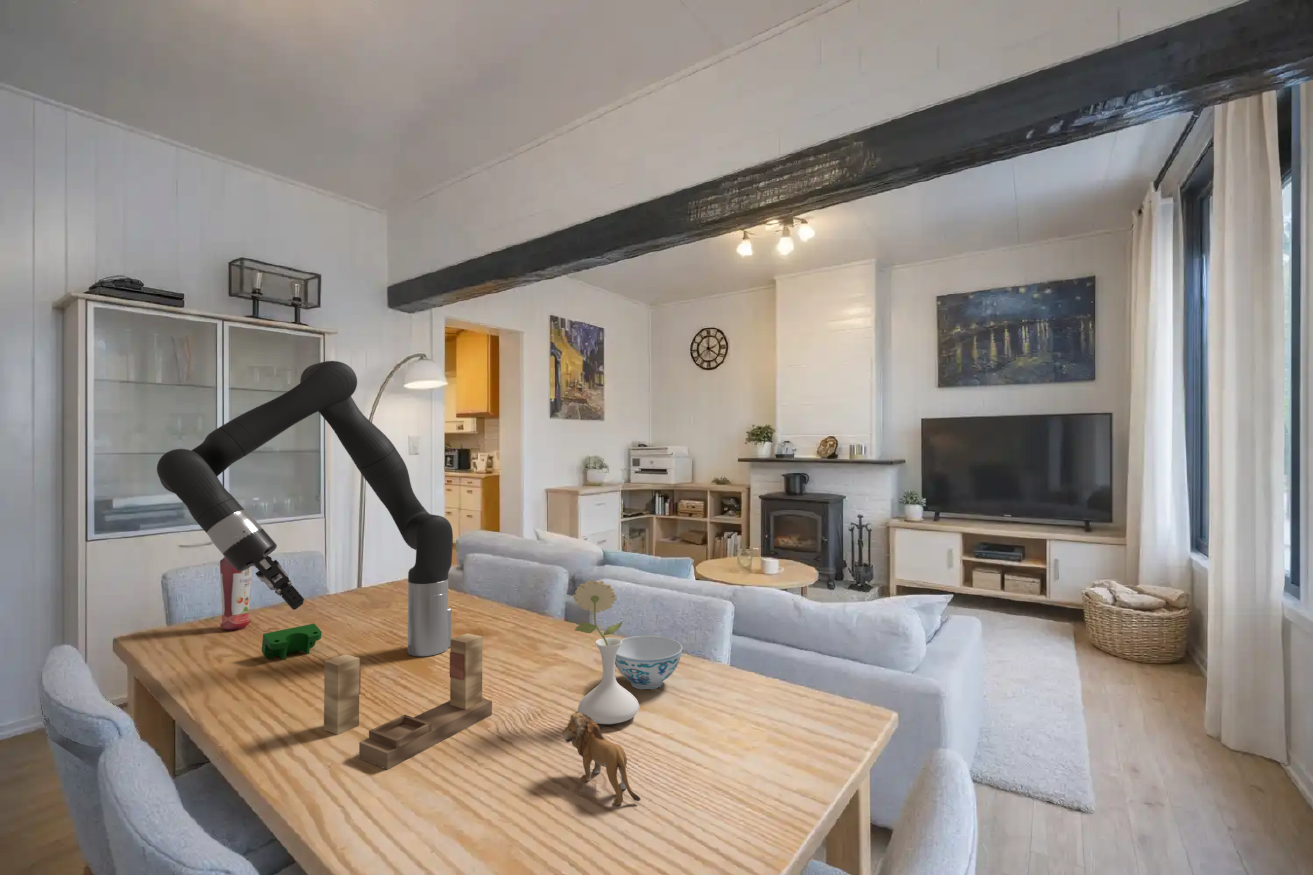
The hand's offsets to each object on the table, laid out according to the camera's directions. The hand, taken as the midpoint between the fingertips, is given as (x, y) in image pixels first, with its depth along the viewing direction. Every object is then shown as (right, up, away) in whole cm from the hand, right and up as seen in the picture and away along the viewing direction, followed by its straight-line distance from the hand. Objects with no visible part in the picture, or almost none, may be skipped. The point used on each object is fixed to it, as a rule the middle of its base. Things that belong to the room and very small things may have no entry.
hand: (299, 605), depth 115 cm
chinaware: (+66, -20, +12) cm, 70 cm away
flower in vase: (+59, -20, -3) cm, 62 cm away
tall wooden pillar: (+12, -19, -8) cm, 24 cm away
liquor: (-48, -21, +50) cm, 72 cm away
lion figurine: (+60, -19, -26) cm, 68 cm away
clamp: (-19, -20, +30) cm, 41 cm away
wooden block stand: (+29, -19, -11) cm, 37 cm away
